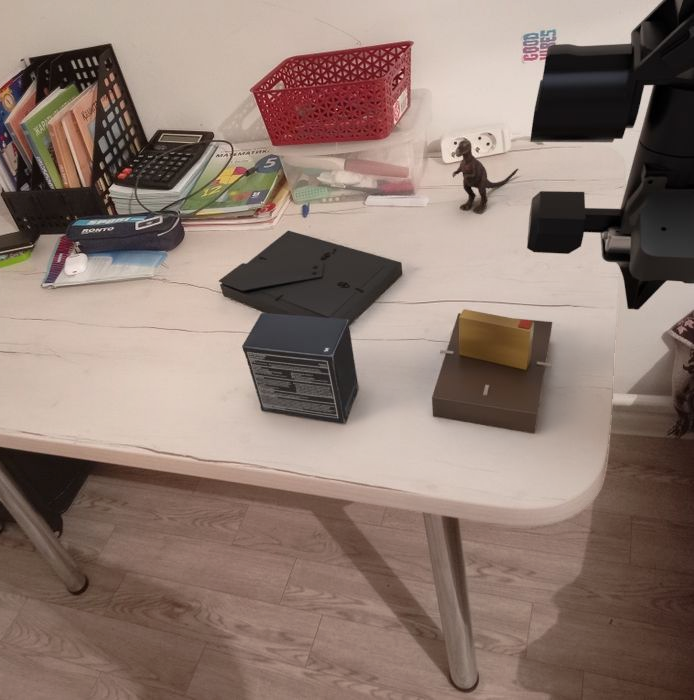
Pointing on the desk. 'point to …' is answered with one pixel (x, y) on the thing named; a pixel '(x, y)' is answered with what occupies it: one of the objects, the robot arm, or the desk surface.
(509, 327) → the yellow rectangular slab
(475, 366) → the plate
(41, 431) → the desk surface
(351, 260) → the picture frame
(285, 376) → the small box
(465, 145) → the dinosaur model
